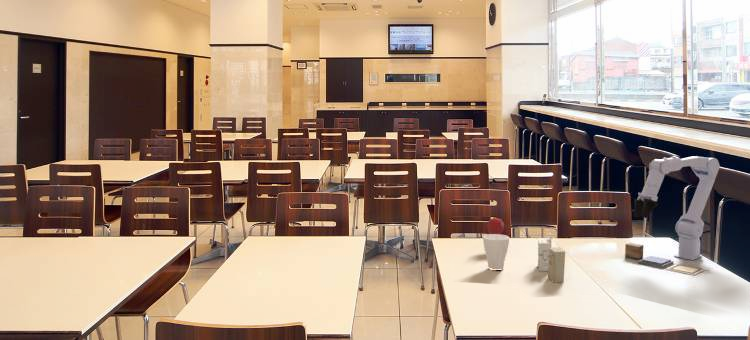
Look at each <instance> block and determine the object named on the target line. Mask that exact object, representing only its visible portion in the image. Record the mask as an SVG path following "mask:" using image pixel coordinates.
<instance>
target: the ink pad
mask: <svg viewBox="0 0 750 340" xmlns="http://www.w3.org/2000/svg"><path fill="white" fill-rule="evenodd" d="M638 264H639V265H643V266H648V267H653V268H658V269H664V268H668V267H671V266H673V265H674V260H671V259H669V258H664V257H659V256H655V255H649V256H647V257H643V259H641V260H638Z"/></svg>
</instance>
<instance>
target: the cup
mask: <svg viewBox="0 0 750 340" xmlns="http://www.w3.org/2000/svg"><path fill="white" fill-rule="evenodd" d="M482 240H483V246H484V247H483V248H484V252H485V255H486V260H487V268H488V267H489V268H492V269H503V270H504V266H505V261H506V260H505V259H506V256H507V254H508V249H509V243H510V237H509V236H508V235H505V234H502V233H501V234H491V233H489V234H485V235H483V236H482Z"/></svg>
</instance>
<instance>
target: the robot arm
mask: <svg viewBox="0 0 750 340" xmlns="http://www.w3.org/2000/svg"><path fill="white" fill-rule="evenodd" d="M648 167H649V168H648V169H649V170H648V171H647V172H648V176H647V179H646V181H645V184H644V186H643V188H642V191H641V192H638V193H637V194H638V197H637V199H636V198H634V199H633V203H634V210H633V216H634V217H635V218H637V219H639V218H640V217H642V218H643V219H644V218H645V219H647V218H648V217H649V216H650V214H651V213H652V211H653V210H654V209H655V208H656V207H658V206H659V204H658V203H657V202H658V198H659V196H657V195H658V193H659V191H660V188H661V185H662V183H663V181H664V178H665V175H668V174H669V173H671V172H676V171H680V170H681V169H682V168H683V167H684V168H685V167H690V168H691V170H692V171H693V172H694V174H695V176H696V177H698V178H699V182H698V184H697V187H696V189H695V192H694V195H693V198H692V199H691V202H690V205H689V207H688V210H687V212H686V213H684V214H683V215H681V216H680V218H679V220H677V222H676V224H675V227H674V229H675V233H677V236H678V251H677V252H678V253H677V254H675V255H674V257H676V258H679V259H685V260H691V261H694V260H697V259H699V258H701V257H702V256H703V255H702V254H701V240H700V239H701V236H702V235H703V232H704V227H705V222H704V220H703V219H702V218H701V217H702V214H703V212H704V210H705V207H706V204H707V202H708V199H709V197H710V194H711V191H712V188H713V185H714V184H715V180H716V178H717V176H718V173H719V170H720V168H721V166H720V162H719V160H718V159H717V158H715V157H704V156H698V155H696V156H694V155H693V156H688V157H684V158H680V157H678V156H676V155H672V156H670V157H668V158H667V157H663V158H662V159H658V158H655V159H653V160H652V161H650V162H649V164H648Z"/></svg>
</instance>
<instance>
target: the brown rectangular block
mask: <svg viewBox="0 0 750 340" xmlns="http://www.w3.org/2000/svg"><path fill="white" fill-rule="evenodd" d="M624 258H626V259H630V260H636V261H639V260H642V259H644V244H639V243H634V242H628V243H625V251H624Z"/></svg>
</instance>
